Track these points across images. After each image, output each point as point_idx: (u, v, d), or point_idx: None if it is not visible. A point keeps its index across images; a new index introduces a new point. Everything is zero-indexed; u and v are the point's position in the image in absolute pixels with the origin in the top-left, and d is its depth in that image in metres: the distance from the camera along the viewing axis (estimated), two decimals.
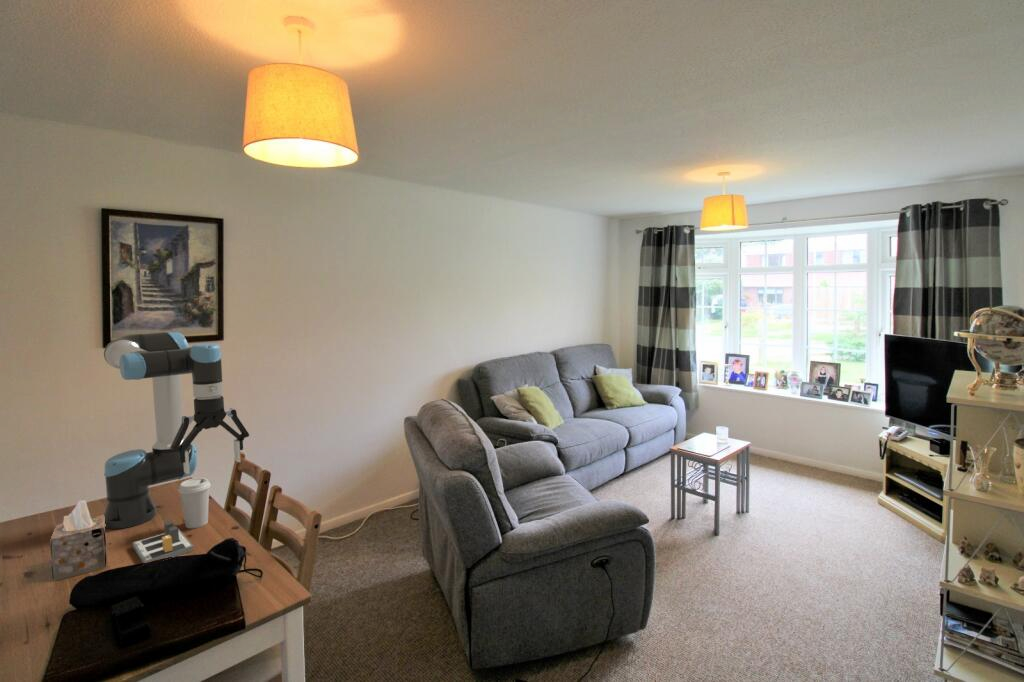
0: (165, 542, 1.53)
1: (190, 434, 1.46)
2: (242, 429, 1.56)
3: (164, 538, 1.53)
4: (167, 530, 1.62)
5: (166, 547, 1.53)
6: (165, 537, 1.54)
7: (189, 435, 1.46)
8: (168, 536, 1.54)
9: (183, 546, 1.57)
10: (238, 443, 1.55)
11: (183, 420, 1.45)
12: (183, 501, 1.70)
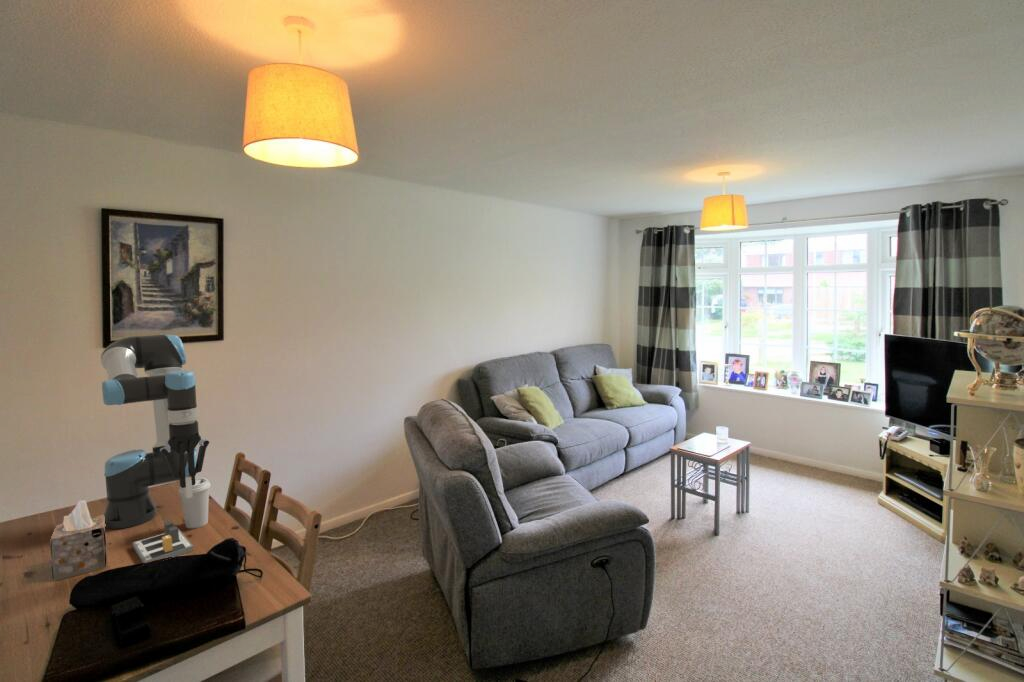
0: (165, 542, 1.53)
1: (179, 461, 1.55)
2: (200, 462, 1.58)
3: (164, 538, 1.53)
4: (167, 530, 1.62)
5: (166, 547, 1.53)
6: (165, 537, 1.54)
7: (178, 462, 1.55)
8: (168, 536, 1.54)
9: (183, 546, 1.57)
10: (190, 479, 1.56)
11: (162, 452, 1.51)
12: (183, 501, 1.70)
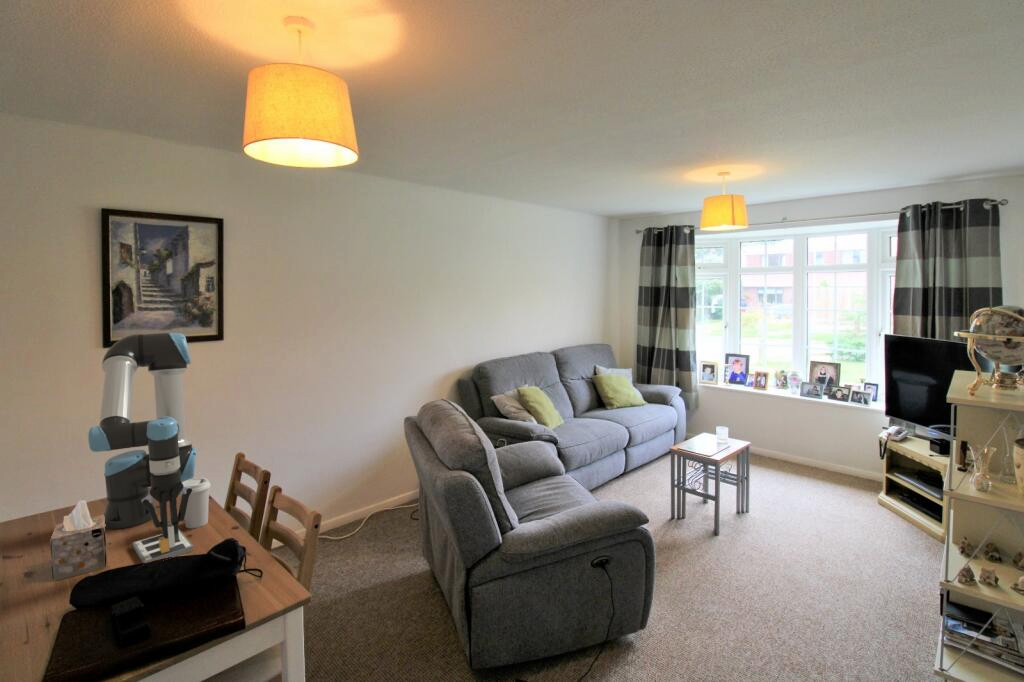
0: (162, 543, 1.52)
1: (161, 511, 1.52)
2: (183, 511, 1.56)
3: (161, 539, 1.53)
4: None
5: (163, 548, 1.52)
6: (162, 538, 1.53)
7: (161, 512, 1.52)
8: None
9: (183, 546, 1.57)
10: (172, 528, 1.54)
11: (143, 503, 1.49)
12: None
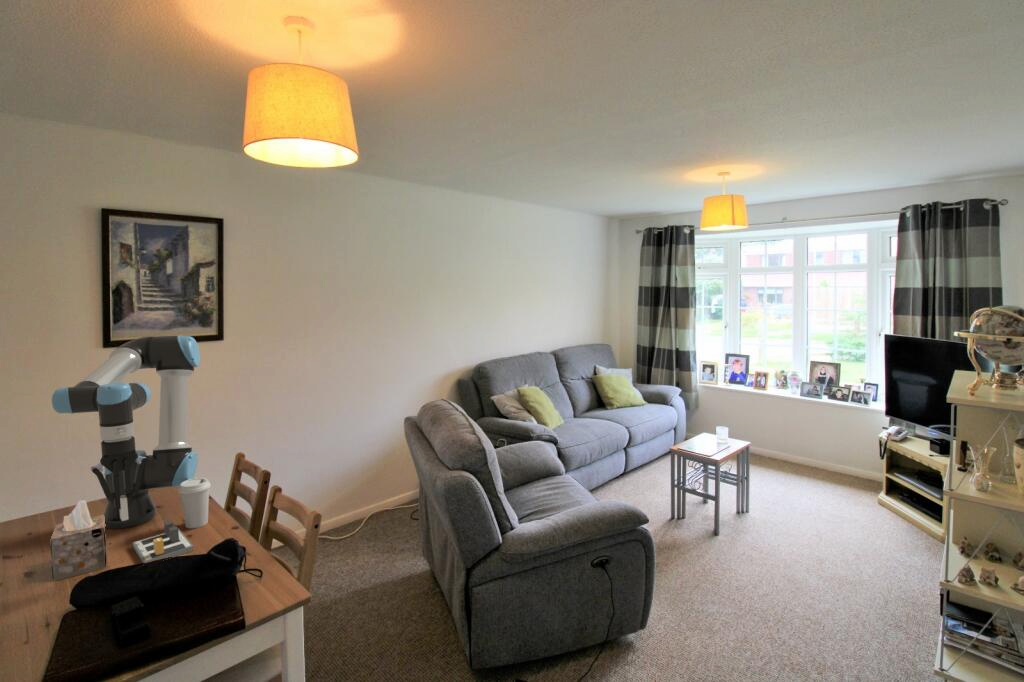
0: (156, 545, 1.51)
1: (112, 481, 1.43)
2: (137, 482, 1.46)
3: (155, 541, 1.52)
4: (167, 530, 1.62)
5: (158, 550, 1.51)
6: (156, 540, 1.52)
7: (112, 482, 1.43)
8: (160, 539, 1.53)
9: (183, 546, 1.57)
10: (125, 500, 1.45)
11: (93, 472, 1.40)
12: (183, 501, 1.70)
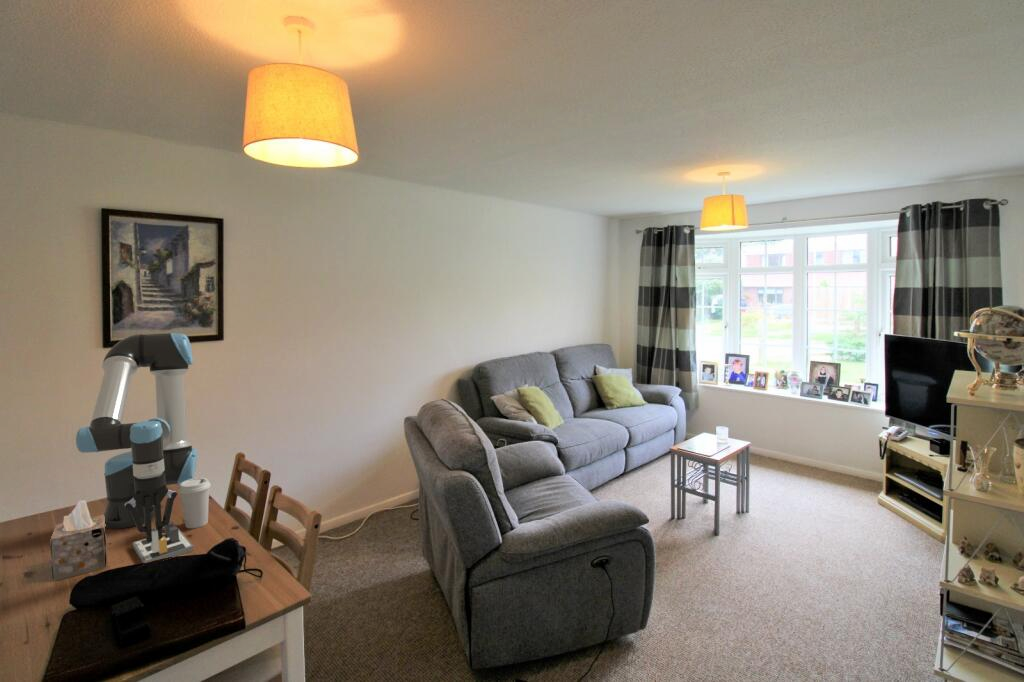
0: (160, 544, 1.52)
1: (144, 515, 1.49)
2: (167, 515, 1.53)
3: (159, 540, 1.52)
4: (167, 530, 1.62)
5: (161, 549, 1.52)
6: (160, 539, 1.53)
7: (144, 516, 1.49)
8: (163, 538, 1.53)
9: (183, 546, 1.57)
10: (156, 533, 1.51)
11: (126, 507, 1.46)
12: (183, 501, 1.70)
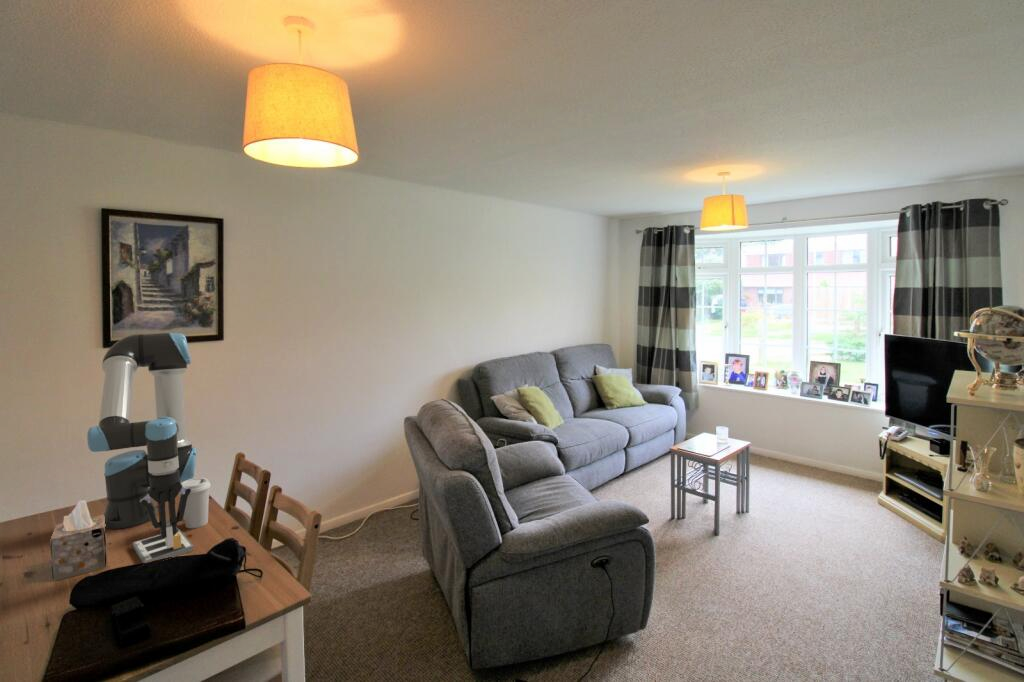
0: (174, 539, 1.54)
1: (159, 511, 1.52)
2: (181, 511, 1.55)
3: (173, 535, 1.55)
4: None
5: (175, 544, 1.55)
6: None
7: (159, 512, 1.52)
8: (177, 534, 1.56)
9: (183, 546, 1.57)
10: (171, 528, 1.53)
11: (142, 503, 1.48)
12: None
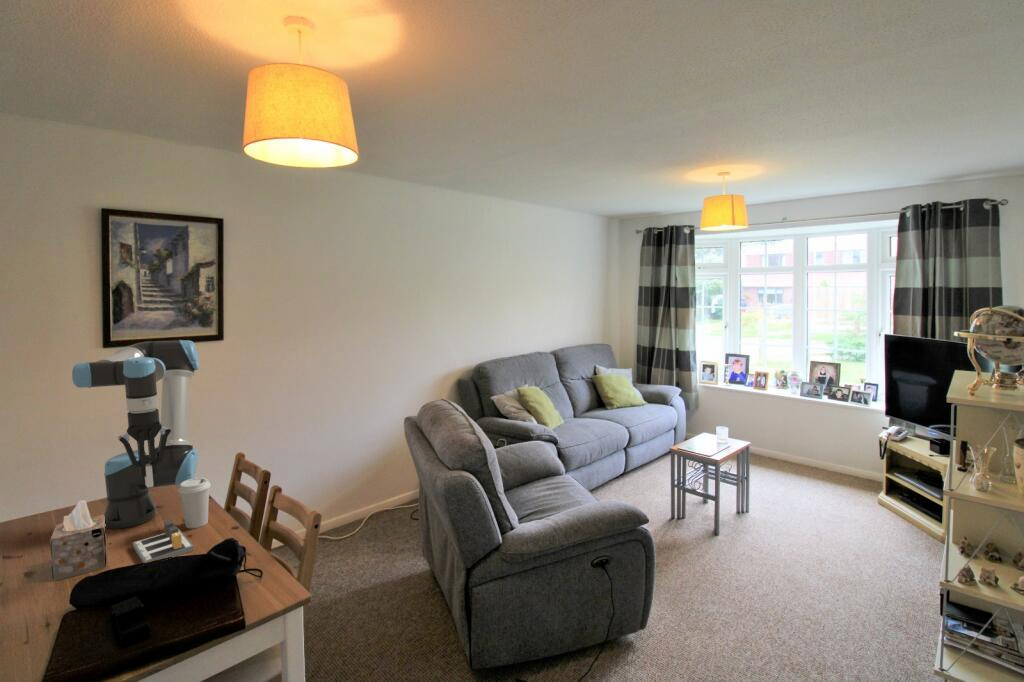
0: (174, 539, 1.54)
1: (138, 450, 1.51)
2: (161, 451, 1.54)
3: (173, 535, 1.55)
4: (167, 530, 1.62)
5: (176, 544, 1.55)
6: (174, 534, 1.55)
7: (138, 451, 1.51)
8: (178, 534, 1.56)
9: (183, 546, 1.57)
10: (150, 468, 1.53)
11: None
12: (183, 501, 1.70)
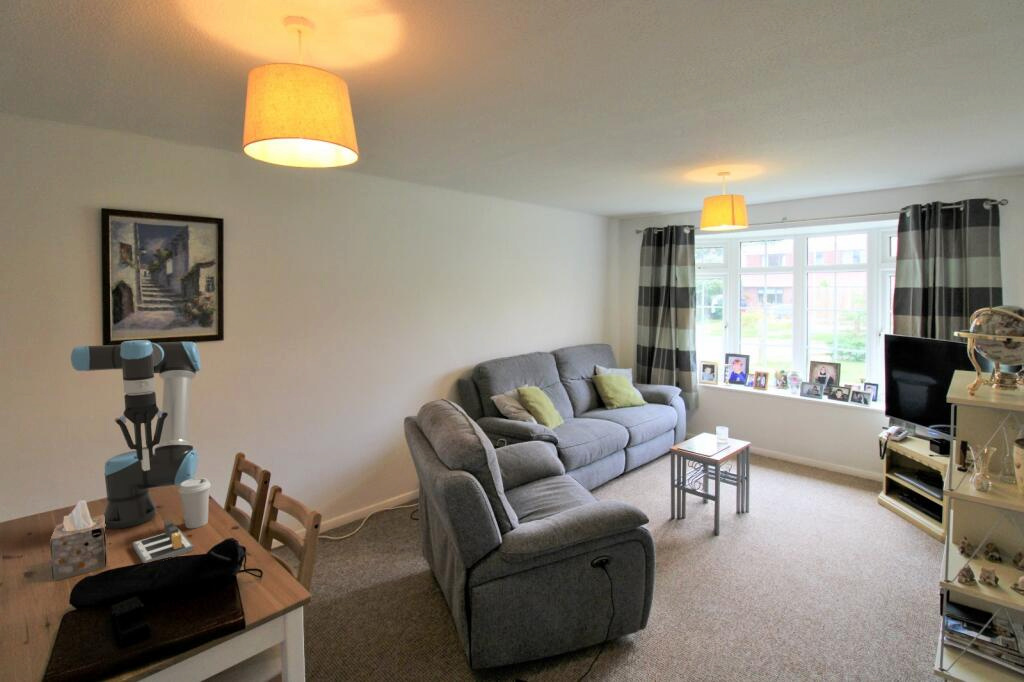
0: (174, 539, 1.54)
1: (135, 432, 1.51)
2: (158, 434, 1.54)
3: (173, 535, 1.55)
4: (167, 530, 1.62)
5: (176, 544, 1.55)
6: (174, 534, 1.55)
7: (135, 434, 1.51)
8: (178, 534, 1.56)
9: (183, 546, 1.57)
10: (147, 451, 1.53)
11: (117, 423, 1.47)
12: (183, 501, 1.70)
